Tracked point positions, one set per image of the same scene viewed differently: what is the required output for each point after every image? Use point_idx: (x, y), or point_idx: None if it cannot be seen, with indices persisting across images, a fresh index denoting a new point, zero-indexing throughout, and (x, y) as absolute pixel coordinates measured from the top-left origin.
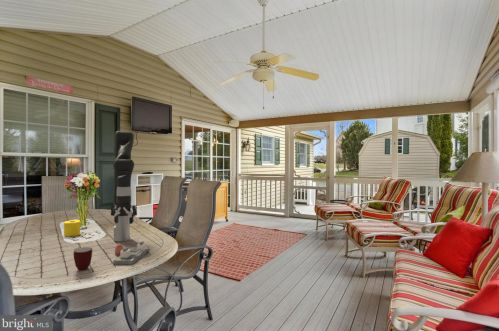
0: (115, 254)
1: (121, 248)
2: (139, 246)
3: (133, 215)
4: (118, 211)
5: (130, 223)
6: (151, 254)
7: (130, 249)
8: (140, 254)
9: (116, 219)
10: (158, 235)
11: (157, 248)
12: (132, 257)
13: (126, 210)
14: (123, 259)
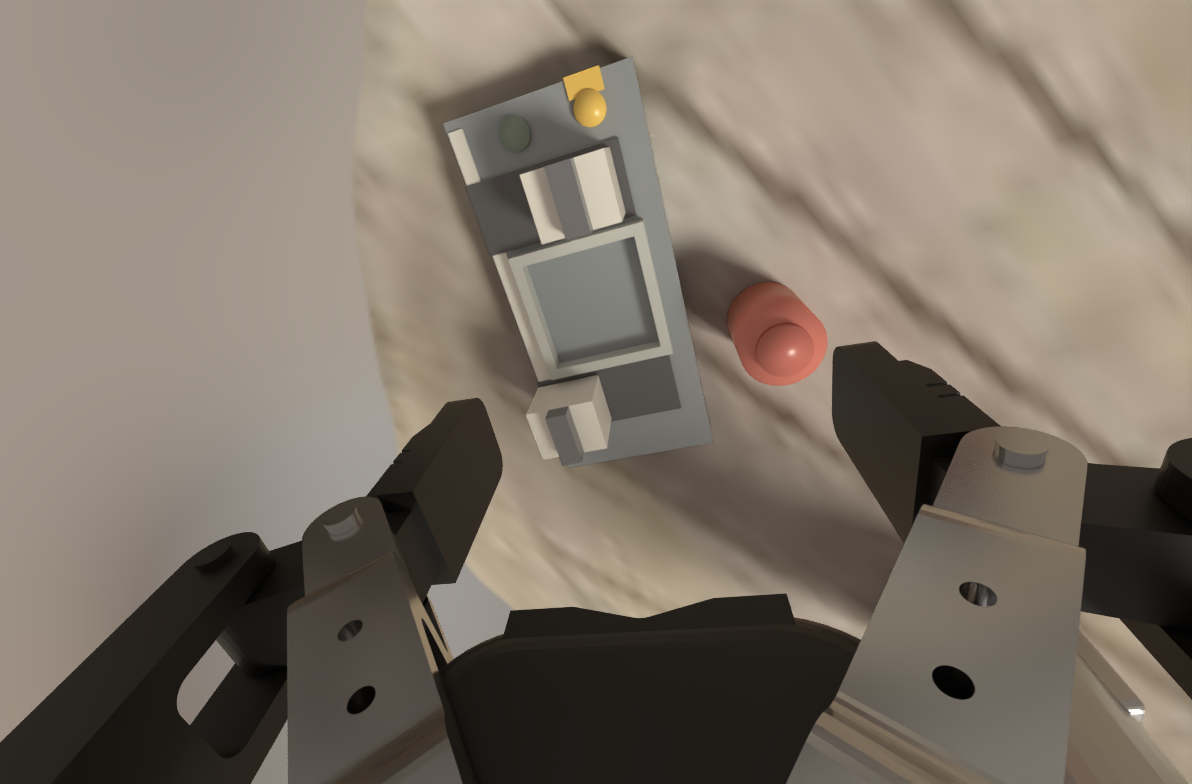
0: (783, 286)
1: (738, 329)
2: (571, 397)
3: (221, 545)
4: (897, 618)
5: (452, 403)
6: (491, 392)
7: (688, 391)
8: (515, 316)
9: (878, 404)
10: None
11: (546, 510)
12: (501, 201)
13: (343, 717)
14: (550, 125)
